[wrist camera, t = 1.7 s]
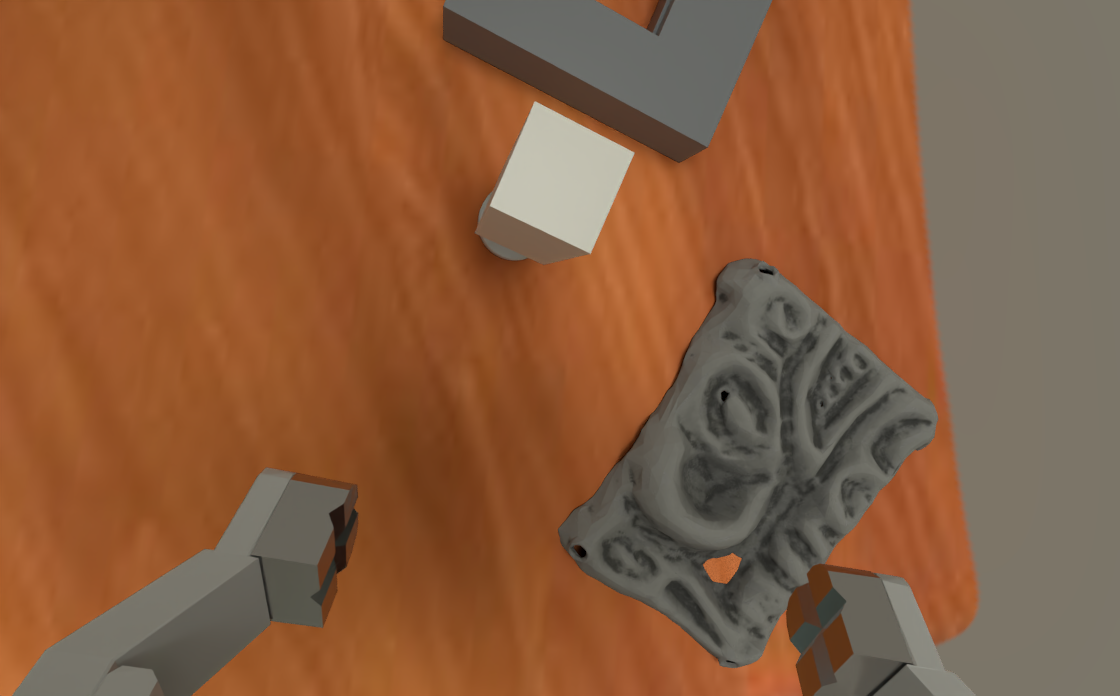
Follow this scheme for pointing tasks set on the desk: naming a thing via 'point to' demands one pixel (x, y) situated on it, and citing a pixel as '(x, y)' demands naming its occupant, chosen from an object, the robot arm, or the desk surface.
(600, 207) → the post
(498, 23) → the keyhole plate
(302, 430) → the desk surface
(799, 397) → the wall plaque
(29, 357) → the desk surface
